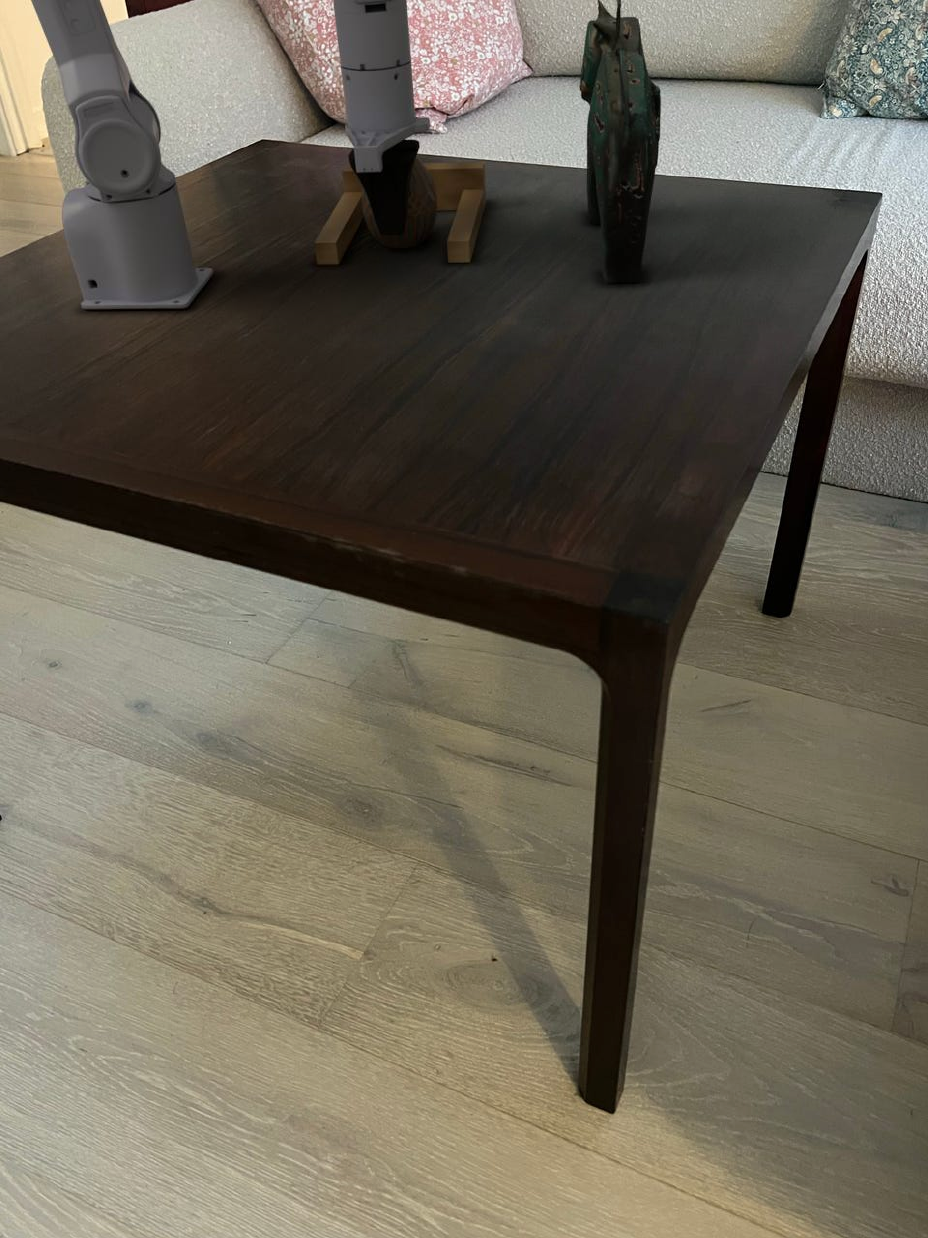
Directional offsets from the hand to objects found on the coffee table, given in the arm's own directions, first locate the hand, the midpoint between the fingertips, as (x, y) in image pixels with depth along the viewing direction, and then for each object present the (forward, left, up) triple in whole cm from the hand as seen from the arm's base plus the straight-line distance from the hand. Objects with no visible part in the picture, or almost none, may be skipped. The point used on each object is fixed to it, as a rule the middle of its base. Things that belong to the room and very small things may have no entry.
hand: (392, 232), depth 91 cm
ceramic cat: (+20, +3, -3) cm, 20 cm away
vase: (0, +5, -3) cm, 5 cm away
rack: (0, +6, -2) cm, 6 cm away
